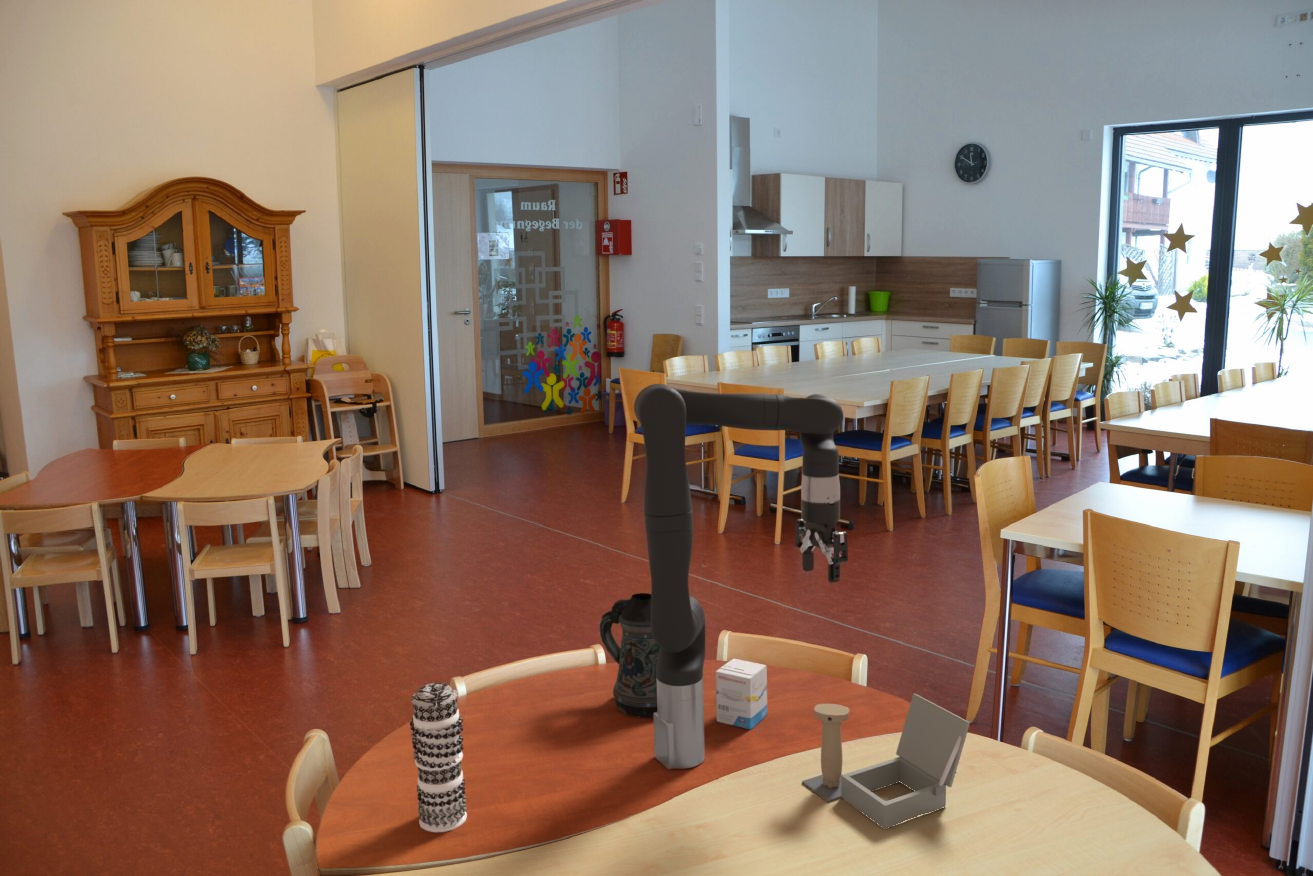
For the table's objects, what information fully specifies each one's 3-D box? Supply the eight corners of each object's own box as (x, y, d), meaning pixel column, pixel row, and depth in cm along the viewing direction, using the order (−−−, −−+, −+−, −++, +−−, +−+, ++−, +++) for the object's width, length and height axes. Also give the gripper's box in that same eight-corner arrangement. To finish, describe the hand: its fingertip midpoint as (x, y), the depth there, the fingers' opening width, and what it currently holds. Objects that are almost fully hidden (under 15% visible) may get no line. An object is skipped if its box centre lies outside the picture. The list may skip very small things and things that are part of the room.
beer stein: (686, 718, 214) (684, 608, 210) (597, 719, 215) (593, 610, 210) (685, 686, 231) (683, 584, 226) (603, 688, 231) (599, 586, 227)
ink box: (768, 714, 215) (767, 664, 213) (750, 730, 208) (750, 678, 206) (733, 706, 219) (733, 657, 217) (715, 721, 212) (714, 670, 210)
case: (888, 832, 169) (889, 746, 166) (837, 795, 181) (838, 714, 179) (967, 804, 177) (970, 721, 175) (914, 770, 189) (915, 692, 187)
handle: (847, 793, 181) (847, 717, 179) (812, 788, 183) (812, 712, 181) (850, 780, 185) (850, 705, 183) (816, 776, 188) (816, 702, 185)
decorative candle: (444, 839, 171) (434, 704, 166) (406, 824, 175) (396, 693, 171) (479, 814, 178) (471, 684, 174) (442, 801, 183) (433, 674, 179)
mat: (827, 802, 179) (827, 800, 179) (802, 783, 186) (802, 781, 186) (862, 791, 183) (862, 789, 182) (835, 772, 190) (835, 770, 189)
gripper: (784, 492, 197) (784, 570, 200) (826, 506, 185) (827, 589, 187) (814, 487, 201) (815, 564, 203) (858, 501, 188) (858, 582, 191)
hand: (820, 576), depth 195 cm, fingers open, 8 cm apart
